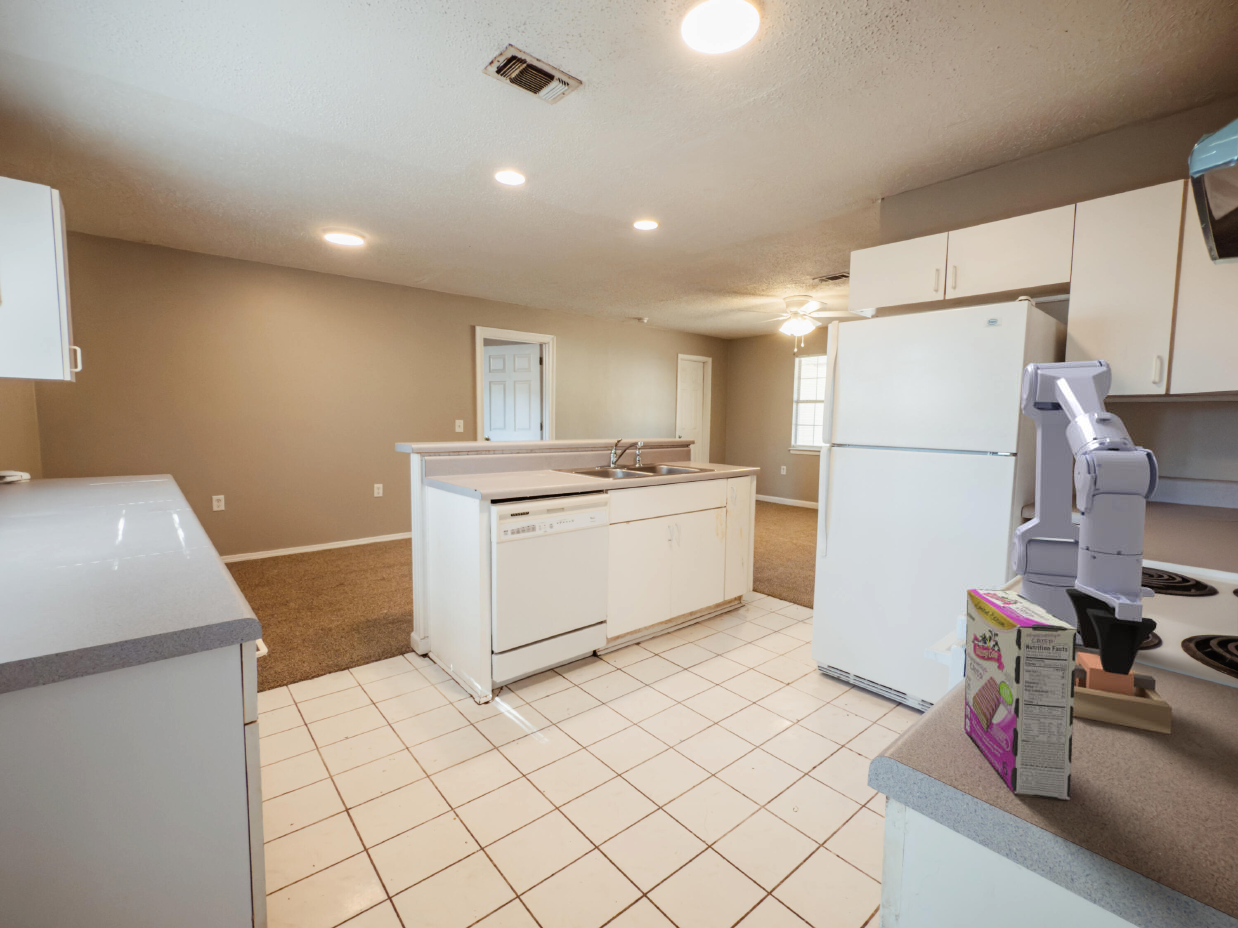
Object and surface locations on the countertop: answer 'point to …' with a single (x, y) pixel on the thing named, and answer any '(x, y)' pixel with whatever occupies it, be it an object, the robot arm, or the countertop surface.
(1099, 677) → the salmon notched block
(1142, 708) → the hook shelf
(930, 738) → the countertop surface
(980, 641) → the candy bar box
